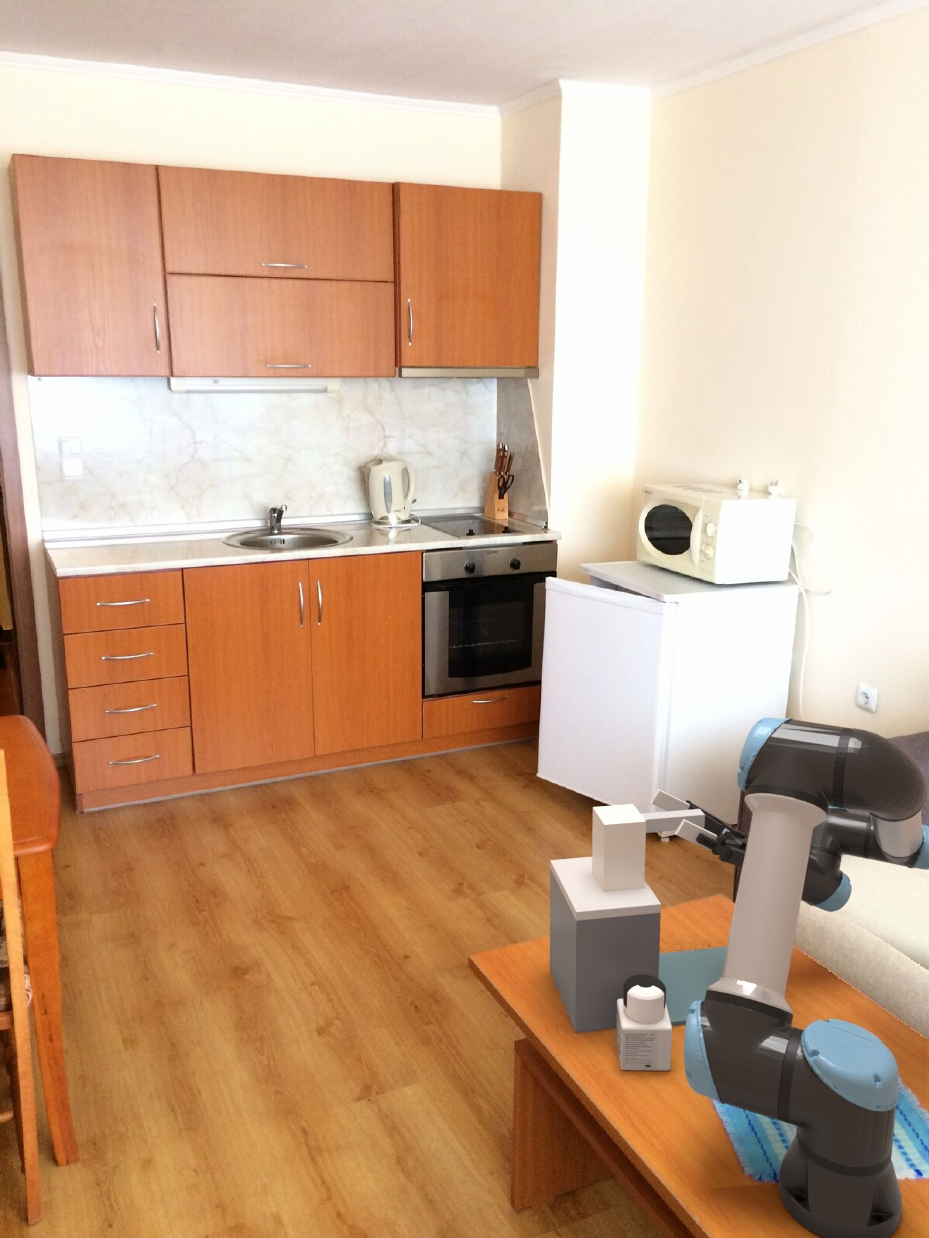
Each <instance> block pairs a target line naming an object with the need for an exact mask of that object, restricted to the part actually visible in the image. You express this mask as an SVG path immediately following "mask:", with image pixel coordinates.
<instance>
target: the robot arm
mask: <svg viewBox="0 0 929 1238" xmlns="http://www.w3.org/2000/svg"><path fill="white" fill-rule="evenodd" d="M739 757H740V758H739V761H738V765H739V766H738V769H737V773H736V774H737V775H736V776H737V778H736V780H737V781H736V782H737V785H738V789H739V790H741V791H742V792H744V793H745V796H744V803H745V805H746V806H747V808H749V810H750V812H751V813H752V814H751V815H752V816H751V821H750V826H749V832H748V836H747V835H746V834H745V833H744V832H742V831H740V830H738V829H736V827H735V826H734V825H733V824H732V825H731V824H730V823H727V822H726V821H725V820H722V819H720V818H718V817H717V816H715V815H714V814H712V813H710V812H709V811H707V810H705V809H703V807H700V806H698V805H697V804H695V803H693V802H692V801H691V800H689V799H687V800H685V801H684V800H681V799H680V798H677V797H676V796H673V794H672V795H671V794H669V793H668V792H665V791H663V790H661V789H659V788H657V790H656V792H655V794H654V795H653V797H652V798H651V800H650V804H652V805H653V806H655V807H658V808H659V809H662V810H664V811H665V812H667V811H680V810H692V809H700V810H701V811H702V812H703V813H704V814H705V825H704V828H701V827H699V826H697V825H695V824H693V823H691V822H689V821H687V820H685V819H683V821H682V822H681V824H680V826H679V827H678V829H677V830H675V832H674V833H675V835H676V836H677V837H680V838H682V839H684V840H686V841H689V842H690V843H692V844H694V845H697V846H699V847H700V848H703V849H704V850H707V851H711V853H712V855H716V856H718V857H717V858H718V859H719V860H720V861H721V862H724V863H727V864H730V865H733V866H737V867H739V868H740V870H741V873H740V876H739V877H740V878H739V883H738V888H737V891H736V896H735V897H736V898H735V903H734V908H733V914H732V919H731V924H730V929H729V934H728V939H727V945H726V946H727V949H726V954H725V959H724V964H723V969H722V974H721V978H720V979H719V981H717V982H716V983H714V984H713V985H711V986H709V987H708V988H707V990H706V995H705V1000H704V1001H702V1000H699V1001H694V1002H693V1003H692V1004H691V1006H690V1008H689V1014H688V1016H687V1019H686V1025H684V1026H685V1027H684V1037H683V1066H684V1072H685V1073H684V1074H685V1078H686V1081H687V1083H688V1086H689V1087H690V1088H691V1089H692V1090H693V1091H694V1092H695V1093H696V1094H698V1095H701V1096H703V1097H706V1098H708V1099H711V1100H713V1101H717V1103H719V1104H721V1105H728V1106H732V1107H735V1108H739V1109H741V1110H744V1111H748V1112H749V1113H754V1114H757V1115H761V1116H764V1117H767V1118H770V1119H772V1120H773V1119H774V1120H776V1121H779V1122H780V1121H781V1122H783V1123H786V1124H789V1125H793V1126H796V1130H795V1136H793V1137H794V1138H793V1139H792V1141H791V1143H790V1146H789V1147H788V1148H787V1151H786V1153H785V1155H784V1156H783V1158H782V1161H781V1163H780V1166H779V1171H778V1172H779V1173H778V1186H777V1187H778V1188H777V1189H778V1192H779V1193H778V1194H779V1198H780V1200H781V1202H782V1204H783V1206H784V1207H785V1209H786V1210H787V1212H788V1213H789V1215H790V1216H792V1217H793V1219H794V1220H795V1221H796V1222H798V1223H799V1224H800V1226H803V1227H804V1228H805V1229H807V1231H810V1232H812V1233H813V1234H815V1235H817V1236H819V1237H821V1238H889V1237H891V1236H892V1235H893V1234H894V1233H895V1232H896V1230H897V1229H898V1228H899V1225H900V1222H901V1216H902V1205H903V1199H902V1192H901V1188H900V1184H899V1182H898V1177H897V1175H896V1170H895V1167H894V1164H893V1160H892V1153H893V1144H894V1130H895V1121H896V1120H895V1118H896V1111H897V1110H896V1107H897V1105H898V1102H899V1098H900V1089H899V1066H898V1062H897V1060H896V1058H895V1056H894V1054H893V1052H892V1051H891V1050H890V1048H888V1046H886V1045H885V1043H884V1042H883V1041H882V1040H881V1039H880V1038H879V1037H878V1036H877V1035H875V1034H874V1033H872V1032H871V1031H869V1030H867V1029H866V1028H864V1027H862V1026H859V1025H858V1024H854V1023H851V1022H849V1021H846V1020H842V1019H836V1018H828V1019H827V1020H826V1021H825V1020H824V1019H818V1020H817V1019H816V1020H815V1021H812V1022H810V1023H809V1024H808V1025H806V1028H804V1029H802V1028H798V1027H794V1026H792V1025H793V1019H794V1011H793V1009H792V1008H791V1006H790V1005H789V1003H788V1002H787V1000H786V997H785V996H786V995H785V994H786V989H787V984H788V978H789V971H790V966H791V960H792V955H793V948H794V943H795V938H796V930H797V925H798V921H799V914H800V908H801V903H802V902H804V903H806V904H807V905H808V906H811V907H815V908H818V909H820V910H823V911H825V912H828V913H829V912H830V913H833V912H837V911H839V910H841V909H842V908H844V906H846V904H847V903H848V902H849V900H850V898H851V894H852V890H853V889H852V885H851V879H850V877H849V876H848V875H847V874H846V873H844V872H843V870H841V864H842V859H843V858H842V857H843V855H845V856H851V857H857V858H862V859H867V860H872V861H877V862H882V863H887V864H891V865H896V866H900V867H901V866H902V867H906V868H907V869H911V870H912V869H918V870H926V871H927V870H929V825H925V824H923V820H922V819H923V818H922V810H923V808H924V806H925V804H926V801H927V799H928V798H927V797H928V786H927V785H928V784H927V779H926V777H925V774H924V771H922V768H920V766H919V764H918V762H917V761H916V760H915V759H914V758H913V757H912V756H911V755H910V754H908V753H907V752H906V751H905V750H904V748H903V749H902V748H901V747H900V746H899V745H898V744H896V743H894V742H893V741H891V740H889V739H888V738H886V737H884V736H882V735H880V734H878V733H876V732H873V731H868V730H865V729H860V728H855V727H854V728H852V727H845V726H840V725H839V726H838V725H832V724H826V723H817V722H812V721H811V722H810V721H806V720H805V721H804V720H798V719H794V718H790V717H787V718H776V717H767V716H766V717H763V718H761V719H759V720H758V721H757V722H756V723H754V725H753V726H752V727H751V729H750V731H749V732H748V734H747V736H746V739H745V740H744V744H743V747H742V750H741V753H740V756H739ZM851 810H855V811H859V812H864V813H865V812H866V813H868V814H863V813H858V812H852V811H851Z"/></svg>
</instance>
